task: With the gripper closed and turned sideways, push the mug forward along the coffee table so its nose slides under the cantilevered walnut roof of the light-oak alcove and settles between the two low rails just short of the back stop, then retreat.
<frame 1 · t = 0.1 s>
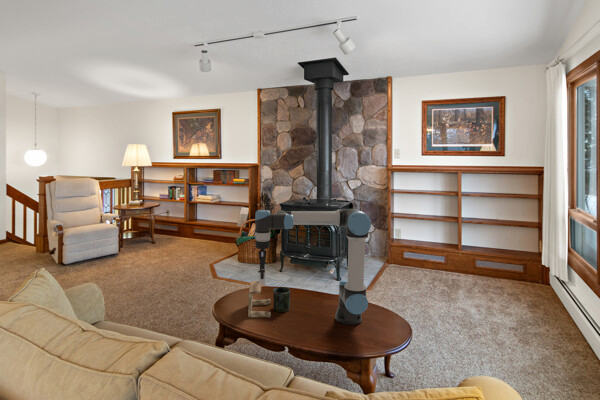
hand: (262, 280, 186), 28 cm above the table, fingers open, 13 cm apart
oak alcove: (258, 310, 216), on the table
mug: (280, 310, 218), on the table
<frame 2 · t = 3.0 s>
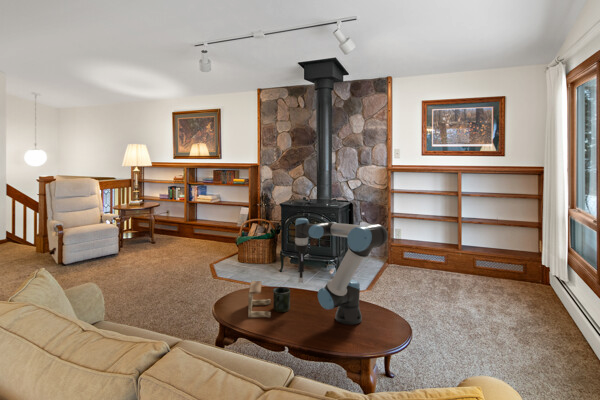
hand: (300, 282, 217), 17 cm above the table, fingers closed
nothing on the table moved.
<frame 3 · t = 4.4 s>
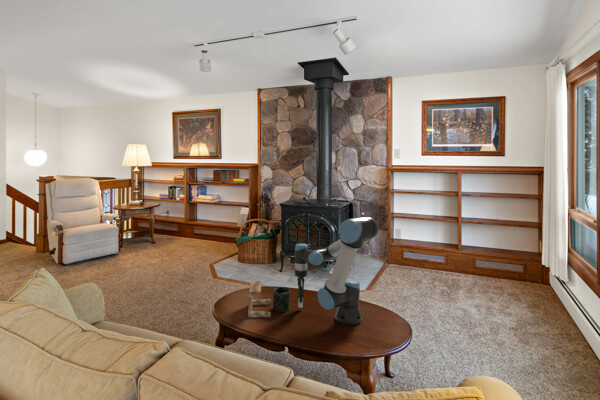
hand: (300, 306, 218), 2 cm above the table, fingers closed
nothing on the table moved.
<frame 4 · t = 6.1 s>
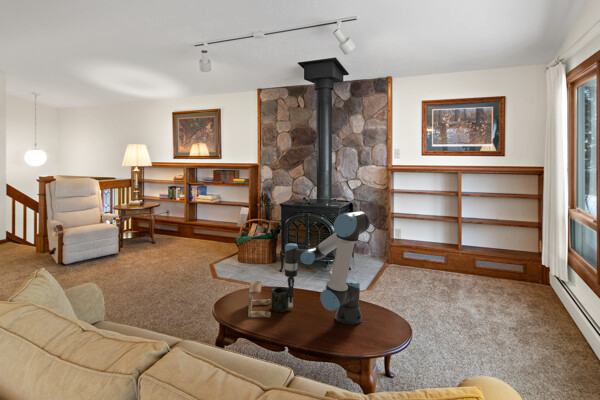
hand: (290, 306, 218), 2 cm above the table, fingers closed
mug: (279, 310, 217), on the table, touching gripper
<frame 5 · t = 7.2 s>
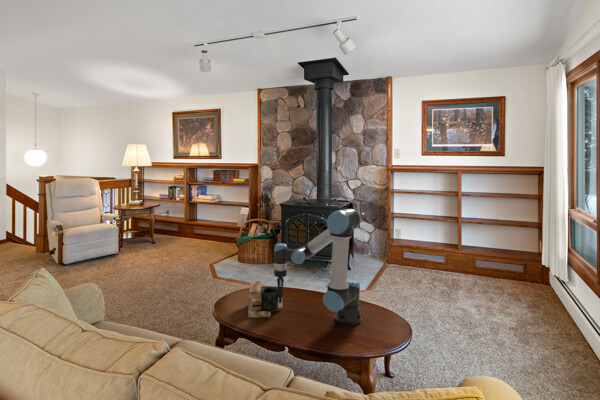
hand: (280, 307, 218), 2 cm above the table, fingers closed
mug: (268, 310, 217), on the table, touching gripper
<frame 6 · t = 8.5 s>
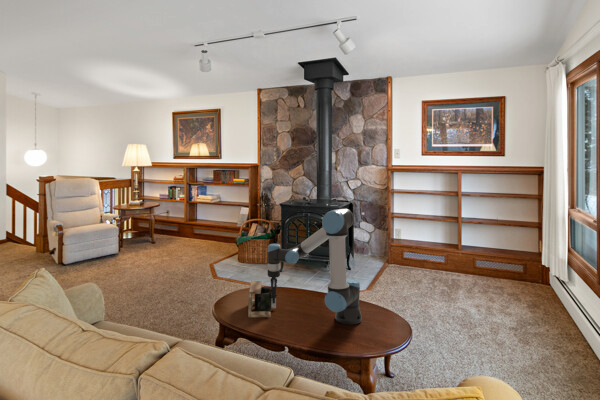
hand: (273, 307, 217), 2 cm above the table, fingers closed
mug: (262, 310, 216), on the table, touching gripper
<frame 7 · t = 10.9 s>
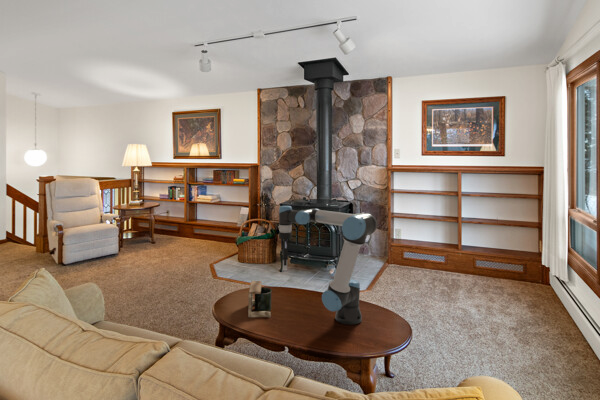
hand: (284, 270, 216), 25 cm above the table, fingers closed
mug: (262, 310, 216), on the table
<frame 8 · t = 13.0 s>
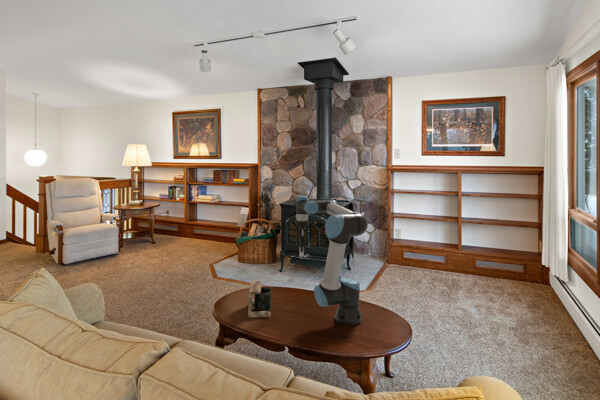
hand: (301, 256, 231), 29 cm above the table, fingers closed
nothing on the table moved.
at the end: mug inside the target area (0.6 cm from its centre), on the table; mug tilted 0°; mug moved 11.2 cm from its start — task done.
